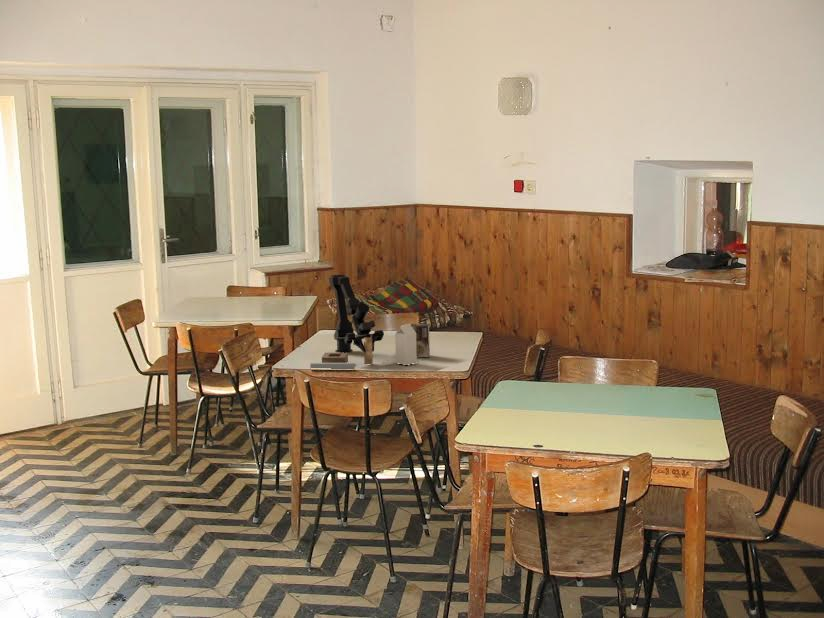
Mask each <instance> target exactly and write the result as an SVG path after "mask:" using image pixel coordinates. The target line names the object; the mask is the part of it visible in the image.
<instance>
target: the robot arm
mask: <svg viewBox="0 0 824 618" xmlns="http://www.w3.org/2000/svg"><path fill="white" fill-rule="evenodd" d="M328 280H329V281H328V282H329V284H330V288H331V289H332V291H333V292H334V297H335V302H336V303H335V304H336V311H337V319H338V321H337V324H336V326H335V328H336V329H335V331H334V333H333V339H334V340H335V341H336V344H337V345H336V346H337V347H336V348H337V349H336V350H335V352H337V351H338V352H337V353H343V352H345V353H349V352H351V351H353V349H352V345H354V346H356V347H357V348H359V349H360V350H361V351H362V352H363V354H364V353H365V352H366V351H365V347H364V341H363V340H364V337H372V353H373V352H375V343H376V342H380V341H382V340H383V338H384V335H385V333H384V330H383V329H378V330H374V332H373V333H371V332H372V330H371V329H374V328H375V327H376V322H375V320H370V321H366V320H365V319H366V318H367V316H368V314H369V311H370V306H369V305H368V304H366V303H364V301H360V299H358V298H356V295H355V293H354V290H353V288H352V285H351V281H350V277H349V276H347V275H345V274H344V273H341V274H340V273H339V274H331V276H329V278H328ZM348 315H349V316H352V317H351V321H350V320H349V318H348V317H349V316H348ZM353 326H354V327H353ZM351 344H352V345H351ZM348 351H349V352H348Z"/></svg>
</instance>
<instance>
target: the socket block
mask: <svg viewBox="0 0 824 618" xmlns="http://www.w3.org/2000/svg"><path fill="white" fill-rule="evenodd" d="M347 362H348V363H349V352H345V353H343V352H325V353H324V354H323V355H322V357H321V363H347Z"/></svg>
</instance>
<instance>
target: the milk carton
mask: <svg viewBox="0 0 824 618" xmlns="http://www.w3.org/2000/svg"><path fill="white" fill-rule="evenodd" d="M411 324H412V323H407V324H403V325H400V327H399V328H398V330H397V331H396V332H395V335H394V336H395V337H394V338H395V341H394V342H395V343H394V344H395V364H396V363H400V364H405V365H408V364H412V363H416V362H418V361H417V359H418V358H417V355H416V332H415V331H414V329H413V328H412V327H411ZM416 364H417V363H416ZM412 365H413V364H412ZM408 366H409V365H408Z"/></svg>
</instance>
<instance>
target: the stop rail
mask: <svg viewBox="0 0 824 618" xmlns="http://www.w3.org/2000/svg"><path fill="white" fill-rule="evenodd" d="M354 364H355V363H354V362H348V363H322V362H311V363H310V365H309V366H310V369H311V368H331V369H354V370H355V366H354Z"/></svg>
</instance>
